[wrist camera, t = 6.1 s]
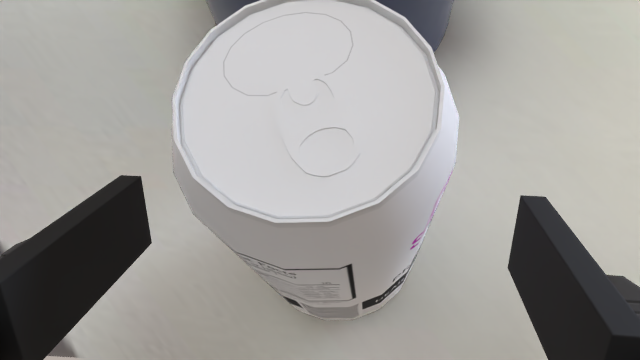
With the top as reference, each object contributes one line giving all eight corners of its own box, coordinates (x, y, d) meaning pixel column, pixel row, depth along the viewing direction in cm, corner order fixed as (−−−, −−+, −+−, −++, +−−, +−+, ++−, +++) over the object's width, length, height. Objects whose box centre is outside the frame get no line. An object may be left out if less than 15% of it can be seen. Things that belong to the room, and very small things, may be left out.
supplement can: (247, 206, 27) (123, 30, 13) (378, 158, 27) (391, -62, 14) (290, 345, 24) (185, 303, 10) (439, 288, 24) (536, 172, 10)
